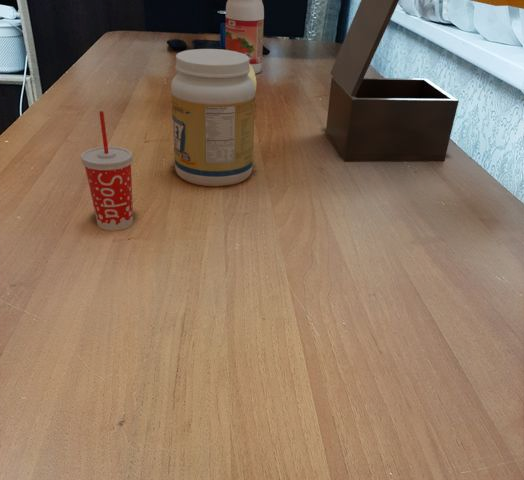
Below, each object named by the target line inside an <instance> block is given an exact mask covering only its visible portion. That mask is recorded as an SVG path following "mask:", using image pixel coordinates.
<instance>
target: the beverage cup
mask: <svg viewBox="0 0 524 480" xmlns="http://www.w3.org/2000/svg"><path fill="white" fill-rule="evenodd" d="M104 113H105V112H104V111H103V110H100V111H98V114H99V121H100V130H101V137H102V143H103V146H99V147H93V148H89V149H86V150H85V151H83V152H82V153H81V155H80V159H81V164H82V165H83V166H84V169H85V173H86V177H87V183H88V187H89V192H90V196H91V201H92V206H93V211H94V214H95V220H96V224H97V226H98V227H99V229H102V230H105V231H110V232H113V231H116V232H117V231H122V230H123V231H124V230H126V229H128V228H130V227H132V226H133V224H134V206H133V205H134V204H133V183H132V181H133V180H132V163H133V161H134V160H133V153H132V151H131V150H129V149H127V148H124V147H120V146H109V145H108V137H107V130H106V129H107V128H106V121H105V114H104Z"/></svg>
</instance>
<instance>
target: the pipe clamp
mask: <svg viewBox="0 0 524 480" xmlns="http://www.w3.org/2000/svg"><path fill="white" fill-rule="evenodd" d="M470 1H472V2H476V3H479V4H485V5H490V6H494V7H507V6H508V7H512V8H517V9H522V10H524V0H470Z"/></svg>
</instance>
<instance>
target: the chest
mask: <svg viewBox="0 0 524 480" xmlns="http://www.w3.org/2000/svg"><path fill="white" fill-rule="evenodd" d="M329 89H330V90H329V99H328V101H329V102H328V107H327V118H326V125H325V126H326V127H325V135H326V136H327V138H328V139H329V141H330V143H331V144H332V146H333V147H334V148H335V150H336V151H337V152H338V154H339V156H340V157H341V159H342V160H343V162H445V160H446V156H447V152H448V148H449V145H450V144H449V143H450V139H451V135H452V131H453V128H454V122H455V120H456V119H455V118H456V114H457V110H458V106H459V102H460V100H459V99H458V98H456V97H454V96H452V95H451V94H450V93H449V92H447V91H445V90H444V89H442V88H441V87H440V86H438V85H437V84H435V83H434V82H433V81H431V80H430V79H428V78H417V77H416V78H415V77H413V78H409V77H407V78H406V77H405V78H404V77H364V78H363V81H362V83H361V85H360V87H359V89H358V92H357V94H356V96H355V97H353V96H351V95H350V94H349V93H348V92H347V91H346V90H345V89H344V88H343V87H342V86H341V85H340V83H339V82H338V81H337V80H336V79H335V78H334V77H333V76H332V77H331V80H330V88H329Z"/></svg>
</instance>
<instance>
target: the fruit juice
mask: <svg viewBox="0 0 524 480" xmlns="http://www.w3.org/2000/svg"><path fill="white" fill-rule="evenodd" d="M264 19H265V7H264V3H263V0H227V1H226V4H225V50H230V51H235V52H239V53H243V54H245V55H247V56H248V57H249V63H250V64H251V66H252V68H253V70H254V72H255V75H256V74H259V73H261V72H262V69H263V49H264V46H263V45H264V25H265V24H264V23H265V21H264Z"/></svg>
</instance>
